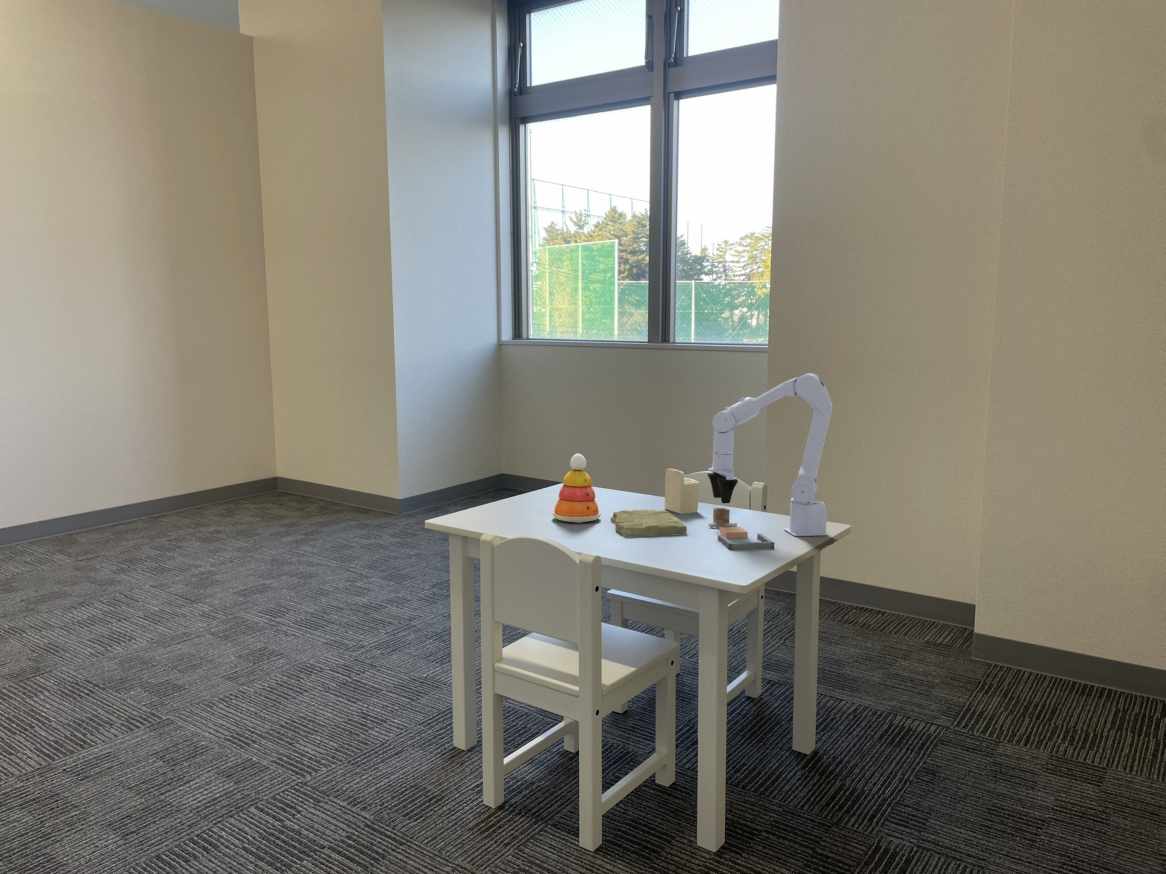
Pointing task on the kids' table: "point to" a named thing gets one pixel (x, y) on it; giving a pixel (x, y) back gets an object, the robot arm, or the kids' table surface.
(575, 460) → the stacking toy
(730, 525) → the walnut scraper
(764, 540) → the slate frame
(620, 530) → the decorative tile
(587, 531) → the kids' table surface
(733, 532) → the terracotta tile
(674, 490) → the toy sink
